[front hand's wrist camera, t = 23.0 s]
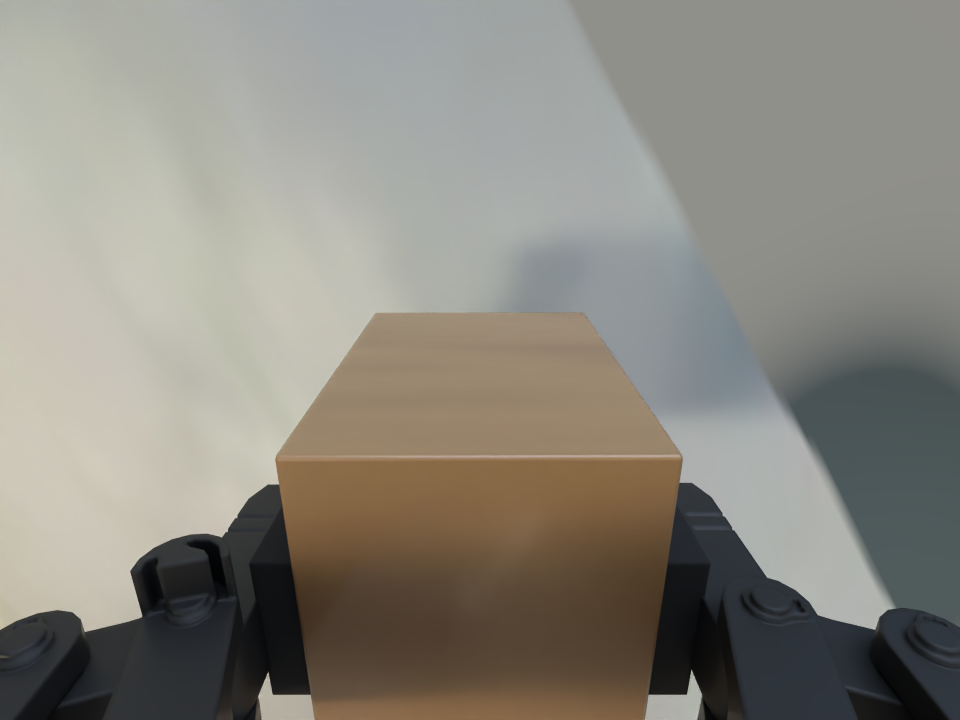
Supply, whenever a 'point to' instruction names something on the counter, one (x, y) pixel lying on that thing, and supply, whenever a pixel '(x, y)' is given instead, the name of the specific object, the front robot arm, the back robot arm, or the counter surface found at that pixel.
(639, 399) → the brown block
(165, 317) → the counter surface
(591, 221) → the counter surface
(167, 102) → the counter surface
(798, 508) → the counter surface
